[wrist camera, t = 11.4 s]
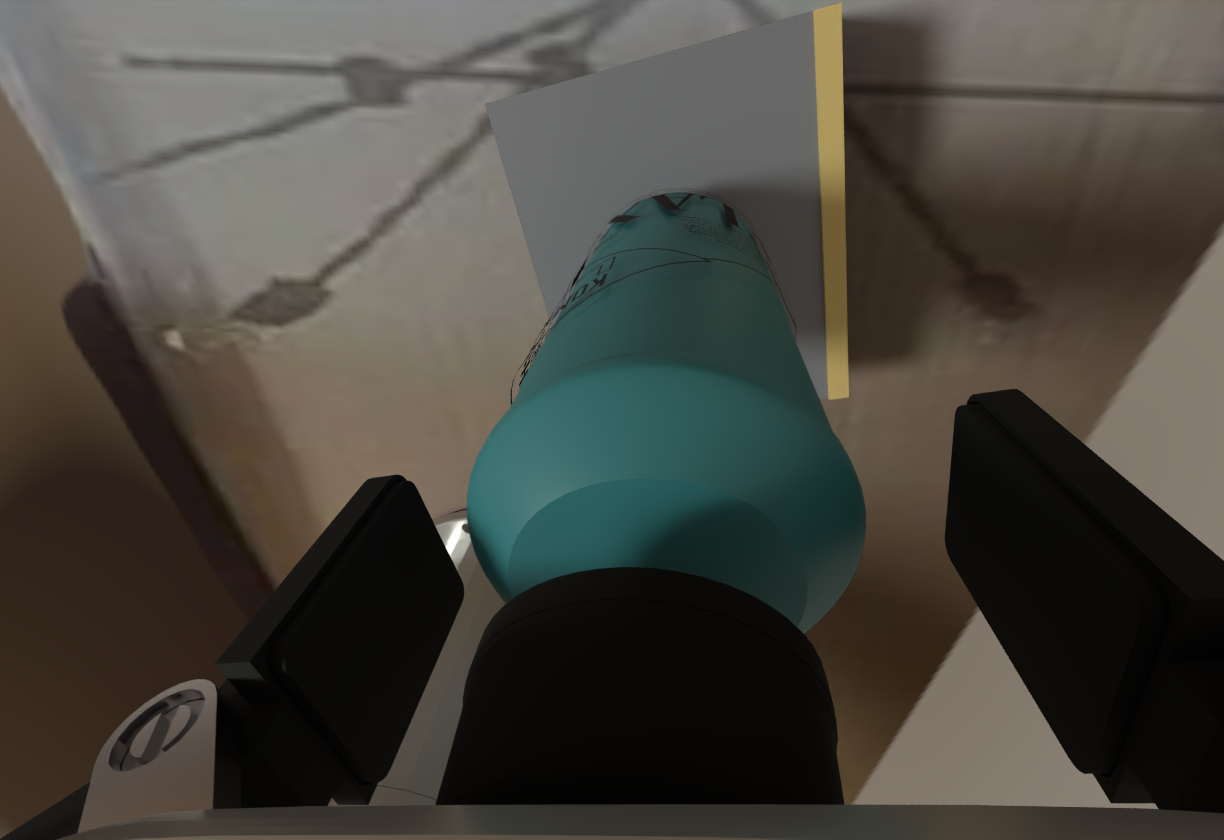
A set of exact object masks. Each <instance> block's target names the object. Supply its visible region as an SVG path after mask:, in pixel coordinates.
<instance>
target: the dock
mask: <svg viewBox="0 0 1224 840" xmlns="http://www.w3.org/2000/svg"><path fill="white" fill-rule="evenodd" d="M485 106H486V109H487V112H488V116H489V119H490V122H491V126H492V129H493V132H494V136H495V139H496V142H497V146H498V149H499V152H500V156H501V159H502V162H503V166H504V169H505V172H506V176H507V179H508V182H509V186H510V189H511V192H512V196H513V199H514V202H515V206H516V209H517V212H518V216H519V219H520V222H521V226H522V229H523V232H524V236H525V239H526V242H527V246H528V249H529V252H530V256H531V259H532V262H533V266H534V269H535V272H536V276H537V279H538V282H539V286H540V289H541V292H542V296H543V299H544V302H545V306H546V309H547V312H548V316H549V319H550V316H552V315H553V316H552V317H554V315H555V313H556V311H557V310H558V308H559V307H560V306H561V307H562V302H563V303H564V302H565V303H564V305H565V304H566V302H567V300H568V298H569V296H570V295H571V293H572V291H573V289H574V287H575V285H576V282H577V281H576V282H575V284H574V286H573V288H572V289H571V286H572V283H573V281H572V280H574V279H575V277H576V275H577V274H578V272H579V270H580V269H581V268H580V267H581V266H582V265H583V263H584V260H586V258H588V257H589V255H590V258H588V259H587V260H586V263H587V264H588V262H589V261H588V260H590V259H591V257H592V255H593V252H594V251H595V250H596V249H595V248H596V247H597V246H598V244H599V242H600V241H601V240H600V239H601V238H602V237H603V235H604V234H605V232H606V231H607V230H608V228H609V227H610V225H611V224H612V223H610V224H608V223H609V222H610V221H611V220H612V219H613V218H614V217H616V216H619V215H621V214H622V213H623V212H624V211H626V210H627V209H628V208H630V207H631V206H633V204H635V203H637V202H639V201H641V200H644V199H646V198H649V197H652V196H655V195H659V194H664V193H671V192H688V193H695V194H700V195H704V196H707V197H710V198H713V199H715V200H718V201H720V202H721V203H723V204H725V205H727V206H729V207H730V208H732V209H733V211H734V210H735V209H737V210H735V211H734V212H735V213H736V214H737V215H738V216H739V217H740V218H741V219H742V220H743V222H744V223H745V224H746V226H747V227H748V228H749V230H750V232H751V234H752V235H753V233H754V234H755V236H756V237H757V238H755V236H754V235H753V237H754V239H755V241H756V242H757V243H758V244H757V243H756V244H757V246H758V249H759V251H761V252H760V253H761V254H762V255H763V256H762V255H761V256H762V257H763V260H764V262H766V261H767V260H768V261H769V259H770V261H769V262H766V263H765V265H766V264H767V263H768V264H770V265H771V266H770V265H769V267H770V268H771V271H769V270H770V269H769V268H768V265H767V266H766V267H767V268H768V272H769V274H770V276H771V279H772V281H773V282H774V283H775V284H776V283H777V285H778V287H779V288H780V289H781V290H780V289H778V287H777V286H775V284H774V286H775V288H776V290H777V293H778V295H779V297H780V300H781V302H782V304H783V307H784V309H785V312H786V314H787V317H788V320H789V322H790V326H791V331H792V333H793V336H794V338H795V334H796V340H795V341H796V343H797V345H798V348H799V350H800V353H801V355H802V358H803V360H804V363H805V365H806V368H807V370H808V372H809V375H810V377H811V380H812V382H813V385H814V387H815V390H816V392H817V395H818V397H819V399H823V398H829V400H832V399H840V398H847V397H849V384H848V328H847V273H846V218H845V162H844V107H843V51H842V2H841V3H838V4H834V5H831V6H827V7H824V8H820V9H817V10H814V11H811V12H808V13H804V14H801V15H797V16H794V17H790V18H787V19H783V20H779V21H776V22H772V23H769V24H765V25H762V26H758V27H755V28H751V29H748V30H744V31H741V32H737V33H734V34H730V35H727V36H723V37H719V38H716V39H712V40H709V41H705V42H702V43H698V44H695V45H691V46H688V47H684V48H681V49H677V50H674V51H670V52H666V53H663V54H659V55H656V56H652V57H649V58H645V59H642V60H638V61H635V62H631V63H628V64H624V65H621V66H617V67H614V68H610V69H606V70H603V71H599V72H596V73H592V74H589V75H585V76H582V77H578V78H575V79H571V80H568V81H564V82H561V83H557V84H554V85H550V86H546V87H543V88H539V89H536V90H532V91H529V92H525V93H522V94H518V95H515V96H511V97H508V98H504V99H501V100H497V101H493V102H490V103H486V104H485ZM670 188H676V189H670ZM684 188H689V189H684ZM664 189H665V190H664ZM695 189H696V190H695ZM659 190H660V191H659ZM667 190H668V192H667ZM669 190H670V191H669ZM671 190H672V191H671ZM673 190H674V191H673ZM676 190H677V191H676ZM678 190H679V191H678ZM680 190H681V191H680ZM682 190H684V191H682ZM685 190H686V191H685ZM687 190H688V191H687ZM689 190H690V192H689ZM700 190H701V191H700ZM654 191H655V192H654ZM691 191H692V192H691ZM694 191H695V192H694ZM696 191H697V193H696ZM704 191H705V192H704ZM651 192H652V193H651ZM698 192H699V193H698ZM701 192H702V193H701ZM707 192H708V193H707ZM655 193H657V194H655ZM703 193H704V194H703ZM705 193H706V194H705ZM710 193H711V194H710ZM651 194H652V195H651ZM708 194H709V195H708ZM713 194H714V195H713ZM643 195H644V196H643ZM648 195H649V196H648ZM710 195H711V196H710ZM716 195H717V196H716ZM641 196H642V197H643V198H642V197H641ZM645 196H646V197H645ZM713 196H714V197H713ZM718 196H719V197H718ZM639 197H640V198H642V199H640V198H639ZM715 197H717V198H719V199H717V198H715ZM637 198H638V199H640V200H638V199H637ZM720 199H721V200H720ZM636 200H638V201H636ZM725 200H726V201H725ZM631 201H632V202H634V201H635V202H634V203H632V202H631ZM723 201H725V202H723ZM727 201H728V202H727ZM726 202H727V203H726ZM628 203H629V204H630V205H629V204H628ZM631 203H632V204H631ZM730 203H731V204H730ZM729 204H730V205H729ZM625 205H626V206H627V207H626V206H625ZM628 205H629V206H628ZM734 206H735V207H734ZM733 207H734V208H733ZM621 208H622V209H621ZM620 210H621V211H620ZM619 211H620V212H619ZM738 211H739V212H740V213H739V212H738ZM742 213H743V214H744V215H745V216H746V217H745V216H744V215H743V214H742ZM614 214H615V215H614ZM616 214H617V215H616ZM613 215H614V216H613ZM743 216H744V217H745V218H744V217H743ZM612 217H613V218H612ZM605 224H606V225H607V224H608V225H607V226H606V227H605ZM751 225H753V226H751ZM753 229H755V230H753ZM752 231H753V232H752ZM601 233H602V234H601ZM600 234H601V235H600ZM599 235H600V237H599V238H598V236H599ZM757 235H758V236H759V238H758V236H757ZM597 238H598V239H597ZM759 239H760V240H759ZM595 240H596V242H595ZM599 240H600V241H599ZM759 241H761V242H762V244H763V246H762V244H761V242H759ZM594 242H595V244H594ZM593 244H594V245H593ZM592 245H593V246H592ZM759 246H760V247H761V248H760V247H759ZM763 247H764V249H765V251H766V253H767V255H768V257H769V259H768V257H767V256H766V253H765V251H764V249H763ZM590 248H591V249H590ZM589 250H590V251H589ZM593 250H594V251H593ZM592 251H593V252H592ZM763 251H764V252H763ZM590 252H591V253H590ZM589 253H590V254H589ZM764 253H765V254H764ZM591 254H592V255H591ZM587 256H588V257H587ZM765 257H766V258H765ZM770 262H771V263H770ZM586 263H585V267H584V268H586V266H587V264H586ZM578 268H579V270H578ZM772 269H773V270H772ZM583 271H584V270H583ZM583 271H582V272H581V274H580V275H579V278H580V277H581V275H582V273H583ZM773 271H774V273H773ZM576 272H577V273H576ZM771 272H772V273H771ZM775 273H776V275H777V276H776V275H775ZM575 274H576V275H575ZM772 274H773V275H774V278H775V280H774V278H773V276H772ZM775 276H776V277H775ZM572 278H573V279H572ZM579 278H578V280H579ZM777 279H778V281H777ZM775 281H776V282H775ZM570 282H571V283H570ZM569 284H570V285H571V286H570V285H569ZM780 284H781V286H780ZM567 288H569V289H567ZM566 289H567V290H568V292H567V290H566ZM569 290H571V292H570V291H569ZM779 290H780V291H779ZM566 292H567V293H566ZM780 292H781V294H782V296H783V298H782V296H781V294H780ZM565 293H566V294H567V295H566V296H565V295H564V294H565ZM569 294H570V295H569ZM784 294H785V295H784ZM563 296H565V297H566V298H565V297H564V299H565V300H564V299H563ZM560 299H561V300H560ZM562 299H563V300H564V301H563V300H562ZM783 299H784V300H783ZM787 299H788V300H787ZM784 301H785V303H786V305H787V307H788V309H787V307H786V305H785V303H784ZM559 302H561V303H560V304H559ZM557 305H558V307H556V306H557ZM555 307H556V310H555ZM561 307H560V308H561ZM791 307H792V308H791ZM560 308H559V309H560ZM788 310H789V312H790V314H791V316H792V318H791V316H790V314H789V312H788ZM553 311H554V312H555V313H554V314H553V313H552V312H553ZM558 311H559V310H558ZM561 311H562V309H560V311H559V312H558V313H557V315H556V316H555V317H554V318H553V319H552V318H551V319H550V322H551V326H552V327H553V325H554V323H555V322H556V320H557V318H558V316H559V314H560V312H561ZM794 316H795V318H794ZM792 319H793V321H794V323H795V322H796V324H795V325H796V327H795V325H794V323H793V321H792Z"/></svg>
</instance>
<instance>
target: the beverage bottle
mask: <svg viewBox="0 0 1224 840" xmlns="http://www.w3.org/2000/svg"><path fill="white" fill-rule="evenodd" d="M670 189H676V188H670ZM684 189H689V188H684ZM664 190H665V189H664ZM695 190H696V189H695ZM659 191H660V190H659ZM669 191H670V190H669ZM671 191H672V190H671ZM673 191H674V190H673ZM676 191H677V190H676ZM678 191H679V190H678ZM680 191H681V190H680ZM682 191H684V190H682ZM685 191H686V190H685ZM687 191H688V190H687ZM700 191H701V190H700ZM654 192H655V191H654ZM667 192H668V190H667ZM689 192H690V190H689ZM691 192H692V191H691ZM694 192H695V191H694ZM704 192H705V191H704ZM651 193H652V192H651ZM696 193H697V191H696ZM698 193H699V192H698ZM701 193H702V192H701ZM707 193H708V192H707ZM655 194H657V193H655ZM703 194H704V193H703ZM705 194H706V193H705ZM710 194H711V193H710ZM651 195H652V194H651ZM708 195H709V194H708ZM713 195H714V194H713ZM643 196H644V195H643ZM648 196H649V195H648ZM710 196H711V195H710ZM716 196H717V195H716ZM641 197H642V196H641ZM645 197H646V196H645ZM713 197H714V196H713ZM718 197H719V196H718ZM639 198H640V197H639ZM642 198H643V197H642ZM642 198H640V199H642ZM715 198H717V197H715ZM637 199H638V198H637ZM640 199H638V200H640ZM717 199H719V198H717ZM638 200H636V201H638ZM720 200H721V199H720ZM725 201H726V200H725ZM725 201H723V202H725ZM631 202H632V201H631ZM634 202H635V201H634ZM634 202H632V203H634ZM727 202H728V201H727ZM727 202H726V203H727ZM632 203H631V204H632ZM628 204H629V203H628ZM730 204H731V203H730ZM730 204H729V205H730ZM629 205H630V204H629ZM629 205H628V206H629ZM625 206H626V205H625ZM626 207H627V206H626ZM734 207H735V206H734ZM734 207H733V208H734ZM621 209H622V208H621ZM735 210H737V209H735ZM735 210H734V211H735ZM620 211H621V210H620ZM620 211H619V212H620ZM734 211H733V209H732V208H730V207H729V206H727V205H725V204H723V203H721V202H720V201H718V200H715V199H713V198H710V197H707V196H704V195H700V194H695V193H688V192H671V193H664V194H659V195H655V196H652V197H649V198H646V199H644V200H641V201H639V202H637V203H635V204H633V206H631V207H630V208H628V209H627V210H626V211H624V212H623V213H622V214H621V215H619V216H616V217H614V218H613V217H612V218H613V219H612V220H611V221H610V222H609V223H608V224H610V223H612V224H611V225H610V227H609V228H608V230H607V231H606V232H605V234H604V235H603V237H602V238H601V239H600V240H601V241H600V240H599V241H600V242H599V244H598V246H597V247H596V248H595V249H596V250H595V251H594V250H593V251H594V252H593V251H592V252H593V255H592V254H591V255H592V257H591V259H590V260H588V261H589V262H588V264H587V263H586V260H587V259H588V258H590V255H589V257H588V256H587V257H588V258H586V260H584V263H583V265H582V266H581V267H580V268H581V269H580V270H579V268H578V270H579V272H578V274H577V275H576V274H575V275H576V277H575V279H574V280H572V281H573V283H572V286H571V285H570V284H569V285H570V286H571V289H572V288H573V286H574V284H575V282H576V281H577V282H576V285H575V287H574V289H573V291H572V293H571V295H570V294H569V295H570V296H569V298H568V300H567V302H566V304H565V305H564V303H565V302H564V303H563V302H562V307H561V306H560V307H561V308H560V307H559V308H560V309H562V311H561V312H560V314H559V316H558V318H557V320H556V322H555V323H554V325H553V327H551V328H552V329H551V328H550V329H551V331H550V332H549V334H548V336H547V335H546V334H547V333H548V332H547V333H546V334H545V335H546V337H547V338H546V339H545V341H544V343H543V345H542V347H541V346H540V344H539V346H538V348H539V347H540V348H541V349H540V350H538V349H537V350H536V351H538V354H537V353H536V351H535V353H536V354H535V353H534V351H532V350H533V349H534V348H535V347H536V346H535V345H534V346H533V348H531V349H532V350H531V351H532V352H533V353H534V355H535V356H536V355H537V356H536V358H535V359H534V357H533V355H532V357H533V359H534V361H533V362H532V360H531V362H532V365H530V368H529V370H527V371H526V373H525V370H526V368H527V366H528V364H529V363H530V360H529V359H528V360H529V362H528V364H527V365H526V363H527V362H525V365H526V367H525V365H524V367H525V369H524V370H523V372H522V374H521V377H522V375H523V373H524V376H523V378H522V380H521V382H520V384H521V386H520V384H519V386H520V389H519V392H518V394H517V396H516V398H515V400H514V401H513V403H512V388H511V407H510V409H509V410H508V412H506V413H505V415H504V416H503V417H502V418H501V420H500V421H499V422H498V423H497V425H496V426H495V427H494V428H493V430H492V431H491V433H490V435H489V436H488V438H487V440H486V442H485V443H484V445H483V447H482V449H481V451H480V452H479V454H478V456H477V459H476V461H475V464H474V467H473V470H472V472H471V476H470V481H469V487H468V492H467V522H468V528H469V535H470V539H471V542H472V545H473V548H474V552H475V555H476V557H477V559H478V561H479V563H480V565H481V567H482V569H483V571H484V573H485V575H486V577H487V578H488V580H489V581H490V583H491V584H492V586H493V587H494V589H495V591H496V592H497V593H498V595H499V596H500V597H501V599H502V600H503V601H504V602H505V603H506V604H505V605H504V606H503V607H502V608H501V609H500V610H499V611H498V612H497V613H496V614H495V615H494V616H493V617H492V619H491V620H490V622H489V623H488V625H487V626H486V628H485V630H484V632H483V635H482V637H481V640H480V642H479V645H478V647H477V650H476V653H475V655H474V658H473V661H472V664H471V666H470V669H469V672H468V676H467V679H466V682H465V687H464V693H463V706H462V712H461V715H460V719H459V722H458V726H457V729H456V733H455V737H454V740H453V744H452V747H451V751H450V754H449V758H448V761H447V765H446V768H445V772H444V776H443V779H442V783H441V786H440V790H439V793H438V797H437V800H436V804H435V805H623V804H780V805H844V799H843V792H842V786H841V780H840V773H839V767H838V760H837V754H836V752H837V741H838V734H837V724H836V718H835V711H834V706H833V702H832V698H831V694H830V690H829V686H828V682H827V678H826V674H825V671H824V668H823V665H822V661H821V659H820V657H819V656H818V654H817V652H816V650H815V648H814V647H813V645H812V644H811V643H810V641H809V640H808V639H807V637H806V636H805V635H804V633H806V632H807V631H808V630H810V629H811V628H812V627H813V626H814V625H815V624H816V623H817V622H818V621H819V620H820V619H821V618H822V617H823V616H824V615H825V614H826V613H827V612H828V611H829V610H830V609H831V608H832V607H833V606H834V605H835V604H836V602H837V601H838V600H839V598H840V597H841V595H842V594H843V593H844V591H845V590H846V589H847V587H848V585H849V583H850V581H851V579H852V578H853V576H854V574H855V572H856V569H857V566H858V563H859V561H860V558H861V555H862V550H863V544H864V538H865V531H866V508H865V503H864V498H863V493H862V488H861V485H860V483H859V480H858V478H857V475H856V472H855V470H854V467H853V465H852V463H851V460H850V458H849V456H848V455H847V453H846V451H845V449H844V448H843V446H842V444H841V442H840V441H839V439H838V438H837V437H836V435H835V434H834V433H833V431H832V429H831V426H830V424H829V422H828V419H827V417H826V414H825V412H824V409H823V407H822V404H821V402H820V399H819V397H818V395H817V392H816V390H815V387H814V385H813V382H812V380H811V377H810V375H809V372H808V370H807V368H806V365H805V363H804V360H803V358H802V355H801V353H800V350H799V348H798V345H797V343H796V341H795V340H796V334H795V338H794V336H793V333H792V331H791V326H790V322H789V320H788V317H787V314H786V312H785V309H784V307H783V304H782V302H781V300H780V297H779V295H778V293H777V290H776V288H775V286H777V287H778V285H777V283H776V284H775V283H774V282H773V281H772V279H771V276H770V274H769V272H768V268H769V269H770V270H769V271H771V268H770V267H769V265H770V264H768V263H767V264H766V265H765V263H766V262H769V261H770V259H769V257H768V255H767V253H766V251H765V249H764V247H763V249H764V251H765V253H766V256H767V257H768V259H769V261H768V260H767V261H766V262H764V260H763V257H762V256H763V255H762V254H761V253H760V252H761V251H759V249H758V246H757V244H758V243H757V242H756V241H755V239H754V237H753V235H754V236H755V234H754V233H753V235H752V234H751V232H750V230H749V228H748V227H747V226H746V224H745V223H744V222H743V220H742V219H741V218H740V217H739V216H738V215H737V214H736V213H735V212H734ZM738 212H739V211H738ZM739 213H740V212H739ZM742 214H743V213H742ZM614 215H615V214H614ZM614 215H613V216H614ZM616 215H617V214H616ZM743 215H744V214H743ZM744 216H745V215H744ZM744 216H743V217H744ZM745 217H746V216H745ZM745 217H744V218H745ZM608 224H607V225H608ZM607 225H606V224H605V227H606V226H607ZM751 226H753V225H751ZM753 230H755V229H753ZM752 232H753V231H752ZM601 234H602V233H601ZM601 234H600V235H601ZM600 235H599V236H598V238H599V237H600ZM757 236H758V235H757ZM598 238H597V239H598ZM755 238H757V237H756V236H755ZM758 238H759V236H758ZM759 240H760V239H759ZM595 242H596V240H595ZM595 242H594V244H595ZM759 242H761V241H759ZM756 243H757V244H756ZM594 244H593V245H594ZM761 244H762V242H761ZM593 245H592V246H593ZM762 246H763V244H762ZM759 247H760V246H759ZM760 248H761V247H760ZM590 249H591V248H590ZM589 251H590V250H589ZM764 251H763V252H764ZM590 253H591V252H590ZM590 253H589V254H590ZM765 253H764V254H765ZM761 255H762V256H761ZM765 258H766V257H765ZM585 263H586V264H587V266H586V268H584V267H585ZM770 263H771V262H770ZM767 265H768V268H767V267H766V266H767ZM770 266H771V265H770ZM583 270H584V271H583ZM772 270H773V269H772ZM582 271H583V273H582V275H581V277H580V278H579V275H580V274H581V272H582ZM576 273H577V272H576ZM771 273H772V272H771ZM773 273H774V271H773ZM775 275H776V273H775ZM772 276H773V278H774V275H773V274H772ZM776 276H777V275H776ZM776 276H775V277H776ZM578 278H579V280H578ZM572 279H573V278H572ZM774 280H775V278H774ZM777 281H778V279H777ZM775 282H776V281H775ZM570 283H571V282H570ZM774 284H775V286H774ZM780 286H781V284H780ZM567 289H569V288H567ZM567 289H566V290H567ZM778 289H780V288H779V287H778ZM780 290H781V289H780ZM780 290H779V291H780ZM569 291H570V292H571V290H569ZM567 292H568V290H567ZM567 292H566V293H567ZM566 293H565V294H564V295H565V296H566V295H567V294H566ZM780 294H781V292H780ZM784 295H785V294H784ZM565 296H563V299H564V297H565ZM781 296H782V294H781ZM565 298H566V297H565ZM782 298H783V296H782ZM563 299H562V300H563ZM560 300H561V299H560ZM564 300H565V299H564ZM564 300H563V301H564ZM783 300H784V299H783ZM787 300H788V299H787ZM560 303H561V302H559V304H560ZM784 303H785V301H784ZM785 305H786V303H785ZM556 307H558V305H557V306H556ZM556 307H555V310H556ZM786 307H787V305H786ZM559 308H558V310H559V311H560V309H559ZM791 308H792V307H791ZM787 309H788V307H787ZM558 310H557V311H556V313H555V312H554V311H553V312H552V313H553V314H554V313H555V315H554V317H555V316H556V315H557V313H558V312H559V311H558ZM788 312H789V310H788ZM789 314H790V312H789ZM552 316H553V315H552ZM552 316H550V319H551V318H552V319H553V318H554V317H552ZM790 316H791V314H790ZM791 318H792V316H791ZM794 318H795V316H794ZM549 321H550V320H548V321H547V322H548V323H549ZM792 321H793V319H792ZM547 322H546V324H545V326H544V327H546V326H547V325H548V323H547ZM550 323H551V322H550ZM793 323H794V321H793ZM795 324H796V322H795V323H794V325H795ZM549 326H550V325H549ZM795 327H796V325H795ZM543 330H544V328H543ZM543 330H542V331H543ZM548 330H549V329H548ZM542 331H541V332H542ZM544 332H545V331H544ZM544 332H543V333H544ZM540 334H541V333H540ZM540 334H539V335H540ZM542 335H543V334H542ZM545 335H544V336H545ZM544 336H543V337H544ZM538 337H539V336H538ZM543 337H542V339H543ZM540 338H541V337H540ZM536 340H537V339H536ZM539 340H540V339H539ZM540 341H541V340H540ZM540 341H538V343H539V342H540ZM538 343H537V344H538ZM534 344H535V343H534ZM537 344H536V345H537ZM541 344H542V342H541ZM530 353H531V352H530ZM530 353H529V355H530ZM531 354H532V353H531ZM529 355H528V356H529ZM528 356H527V358H528ZM530 356H531V355H530ZM529 358H530V357H529ZM530 359H531V358H530ZM525 360H526V359H525ZM526 361H527V360H526ZM523 363H524V362H523ZM521 366H522V365H521ZM521 366H520V368H521ZM520 368H519V369H520ZM515 376H516V375H515ZM514 378H515V377H514ZM513 382H514V380H513ZM512 386H513V384H512Z"/></svg>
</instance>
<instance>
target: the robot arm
mask: <svg viewBox="0 0 1224 840" xmlns="http://www.w3.org/2000/svg"><path fill="white" fill-rule="evenodd" d="M945 544H946V549H947V553H948V555H949V558H950V560H951V562H952V563H953V565H954V567H955V568H956V570H957V572H958V573H959V575H960V577H961V578H962V580H963V582H964V583H965V585H966V587H967V589H968V590H969V592H970V594H971V595H972V597H973V599H974V600H975V602H976V604H977V605H978V607H979V609H980V610H981V612H982V614H983V615H984V617H985V619H986V620H987V622H988V624H989V625H990V627H991V628H992V630H993V632H994V634H995V635H996V637H997V639H998V640H999V642H1000V644H1001V645H1002V647H1003V649H1004V650H1005V652H1006V654H1007V655H1008V656H1009V659H1010V660H1011V662H1012V664H1013V665H1014V667H1015V669H1016V670H1017V672H1018V674H1019V675H1020V677H1021V678H1022V680H1023V682H1024V683H1025V685H1026V687H1027V689H1028V690H1029V692H1030V693H1031V695H1032V697H1033V699H1034V700H1035V702H1036V704H1037V705H1038V707H1039V709H1040V710H1041V712H1042V714H1043V715H1044V717H1045V718H1046V720H1047V722H1048V723H1049V725H1050V727H1051V729H1052V731H1053V732H1054V734H1055V735H1056V737H1057V739H1058V741H1059V742H1060V744H1061V746H1062V747H1063V749H1064V751H1065V752H1066V754H1067V755H1068V757H1069V758H1070V760H1071V762H1072V763H1073V765H1074V766H1075V767H1076V768H1077V769H1078V770H1079V771H1080V772H1082V773H1084V774H1089V773H1090V774H1091V773H1092V774H1093V775H1094V776H1095V778H1096V779H1097V781H1098V783H1099V784H1100V786H1101V788H1102V789H1103V791H1104V792H1105V794H1106V796H1107V797H1108V799H1109V801H1110V802H1111V803H1155V804H1156V806H1157V807H1158V808H1159V809H1137V808H1087V807H1039V806H1038V807H1037V806H987V805H986V806H985V805H983V806H982V805H780V804H623V805H435V804H436V800H437V797H438V793H439V790H440V786H441V783H442V779H443V776H444V772H445V768H446V765H447V761H448V758H449V754H450V751H451V747H452V744H453V740H454V737H455V733H456V729H457V726H458V722H459V719H460V715H461V712H462V706H463V693H464V687H465V682H466V679H467V676H468V672H469V669H470V666H471V664H472V661H473V658H474V655H475V653H476V650H477V647H478V645H479V642H480V640H481V637H482V635H483V632H484V630H485V628H486V626H487V625H488V623H489V622H490V620H491V619H492V617H493V616H494V615H495V614H496V613H497V612H498V611H499V610H500V609H501V608H502V607H503V606H504V605H505V604H506V603H505V602H504V601H503V600H502V599H501V597H500V596H499V595H498V593H497V592H496V591H495V589H494V587H493V586H492V584H491V583H490V581H489V580H488V578H487V577H486V575H485V573H484V571H483V569H482V567H481V565H480V563H479V561H478V559H477V557H476V555H475V552H474V548H473V545H472V542H471V539H470V535H469V528H468V522H467V510H463V511H459V512H455V513H451V514H448V515H446V516H443V517H441V518H439V519H437V520H435V521H434V522H433V520H432V518H431V516H430V514H429V512H428V510H427V508H426V506H425V504H424V502H423V500H422V498H421V496H420V494H419V492H418V490H417V488H416V486H415V485H414V484H413V483H412V482H411V481H407V480H406V479H405V478H404V477H403V476H401V475H391V476H384V477H377V478H371V479H368V480H367V481H366V482H364V484H363V485H362V486H361V487H360V488H359V490H358V491H357V492H356V493H355V495H354V496H353V497H352V498H351V499H350V501H349V502H348V503H347V504H346V505H345V507H344V508H343V509H342V510H341V511H340V513H339V514H338V515H337V516H336V517H335V519H334V520H333V521H332V522H331V524H330V525H329V526H328V527H327V528H326V530H325V531H324V532H323V533H322V534H321V536H320V537H319V538H318V539H317V540H316V542H315V543H314V544H313V545H312V546H311V548H310V549H309V550H308V551H307V553H306V554H305V555H304V556H303V557H302V559H301V560H300V561H299V562H298V563H297V565H296V566H295V567H294V568H293V569H292V571H291V572H290V573H289V574H288V575H287V577H286V578H285V579H284V580H283V582H282V583H281V584H280V585H279V586H278V588H277V589H276V590H275V591H274V592H273V594H272V595H271V596H270V597H269V598H268V600H267V601H266V602H265V603H264V604H263V606H262V607H261V608H260V609H259V611H258V612H257V613H256V614H255V615H254V617H253V618H252V619H251V620H250V621H249V623H248V624H247V625H246V626H245V627H244V629H243V630H242V631H241V632H240V634H239V635H238V636H237V637H236V638H235V640H234V641H233V642H232V643H231V644H230V646H229V647H228V648H227V649H226V650H225V652H224V653H223V654H222V656H221V657H220V658H219V659H218V660H217V661H216V663H215V664H214V665H215V666H216V667H217V668H218V669H219V670H220V671H221V672H222V673H223V675H224V676H225V677H226V678H227V679H226V681H225V682H224V683H223V685H222V686H221V687H220V688H219V689H218V688H217V687H216V686H215V685H214V684H213V683H211V682H210V681H208V680H198V679H195V680H192V681H188V682H184V683H180V684H178V685H176V686H174V687H172V688H170V689H168V690H166V691H164V692H162V693H161V694H159V695H157V696H156V697H154V698H153V699H151V700H149V701H148V702H146V703H145V704H144V705H143V706H141V707H140V708H139V709H138V710H137V711H135V712H134V713H133V714H132V715H130V716H129V717H128V718H127V719H126V720H125V721H124V722H123V723H122V724H121V725H120V726H119V728H118V729H117V730H116V731H115V732H114V733H113V734H112V735H111V737H110V738H109V740H108V741H107V742H106V744H105V745H104V747H103V748H102V750H101V752H100V754H99V756H98V759H97V761H96V763H95V767H94V770H93V774H92V778H91V782H89V783H88V784H86V785H85V786H83V787H81V788H80V789H78V790H77V791H75V792H73V793H72V794H70V795H69V796H67V797H66V798H64V799H63V800H61V801H59V802H58V803H56V804H55V805H53V806H52V807H50V808H48V809H47V810H45V811H43V812H42V813H40V814H39V815H37V816H36V817H34V818H32V819H31V820H30V821H28V822H26V823H25V824H23V825H21V826H20V827H18V828H17V829H15V830H14V831H12V832H10V833H9V834H7V835H6V836H4V837H3V838H1V839H0V840H1224V561H1223V560H1222V559H1221V558H1220V557H1219V556H1217V555H1216V554H1215V553H1214V552H1212V551H1211V550H1210V549H1209V548H1208V547H1207V546H1205V545H1204V544H1203V543H1202V542H1201V541H1199V540H1198V539H1197V538H1196V537H1195V536H1193V535H1192V534H1191V533H1190V532H1188V531H1187V530H1186V529H1185V528H1184V527H1183V526H1181V525H1180V524H1179V523H1178V522H1177V521H1175V520H1174V519H1173V518H1172V517H1170V516H1169V515H1168V514H1167V513H1166V512H1165V511H1163V510H1162V509H1161V508H1160V507H1158V505H1156V504H1155V503H1154V502H1153V501H1152V500H1150V499H1149V498H1148V497H1147V496H1146V495H1144V494H1143V493H1142V492H1141V491H1139V490H1138V489H1137V488H1136V487H1135V486H1134V485H1132V484H1131V483H1130V482H1129V481H1128V480H1126V479H1125V478H1124V477H1123V476H1122V475H1120V474H1119V473H1118V472H1117V471H1116V470H1114V469H1113V468H1112V467H1111V466H1110V465H1109V464H1107V463H1106V462H1105V461H1104V460H1102V459H1101V458H1100V457H1099V456H1098V455H1097V454H1095V453H1094V452H1093V451H1092V450H1091V449H1089V448H1088V447H1087V446H1086V445H1085V444H1083V443H1082V442H1081V441H1080V440H1079V439H1077V438H1076V437H1075V436H1074V435H1073V434H1071V433H1070V432H1069V431H1068V430H1067V429H1065V428H1064V427H1063V426H1062V425H1061V424H1059V423H1058V422H1057V421H1056V420H1055V419H1053V418H1052V417H1051V416H1050V415H1049V414H1048V413H1046V412H1045V411H1044V410H1043V409H1042V408H1040V407H1039V406H1038V405H1037V404H1036V403H1034V402H1033V401H1032V400H1031V399H1030V398H1028V397H1027V396H1026V395H1025V394H1024V393H1022V392H1021V391H1019V390H1017V389H1009V390H1002V391H995V392H988V393H980V394H973V395H972V396H970V398H969V400H968V402H967V405H962V406H959V407H958V408H957V410H956V413H955V421H954V433H953V445H952V457H951V469H950V481H949V493H948V505H947V517H946V529H945Z"/></svg>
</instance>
